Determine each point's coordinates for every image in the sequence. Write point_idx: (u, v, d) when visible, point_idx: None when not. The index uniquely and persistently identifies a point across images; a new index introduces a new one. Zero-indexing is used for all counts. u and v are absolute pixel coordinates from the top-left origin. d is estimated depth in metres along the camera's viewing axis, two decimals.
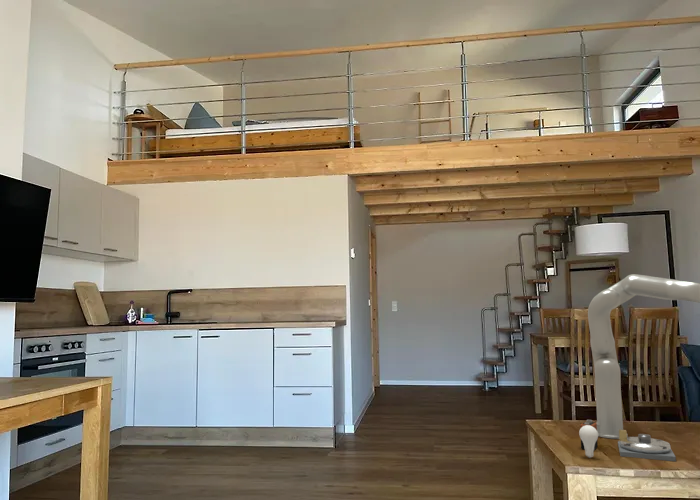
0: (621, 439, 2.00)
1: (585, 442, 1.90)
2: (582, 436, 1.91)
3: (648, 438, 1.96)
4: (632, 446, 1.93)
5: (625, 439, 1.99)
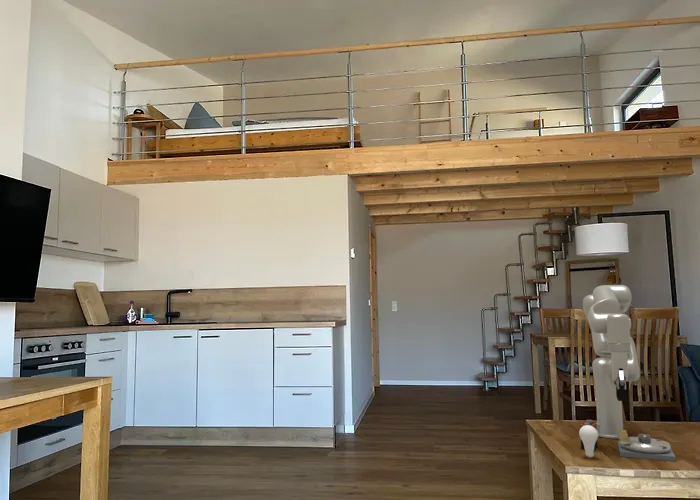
0: (621, 439, 2.00)
1: (585, 442, 1.90)
2: (582, 436, 1.91)
3: (648, 438, 1.96)
4: (632, 446, 1.93)
5: (625, 439, 1.99)
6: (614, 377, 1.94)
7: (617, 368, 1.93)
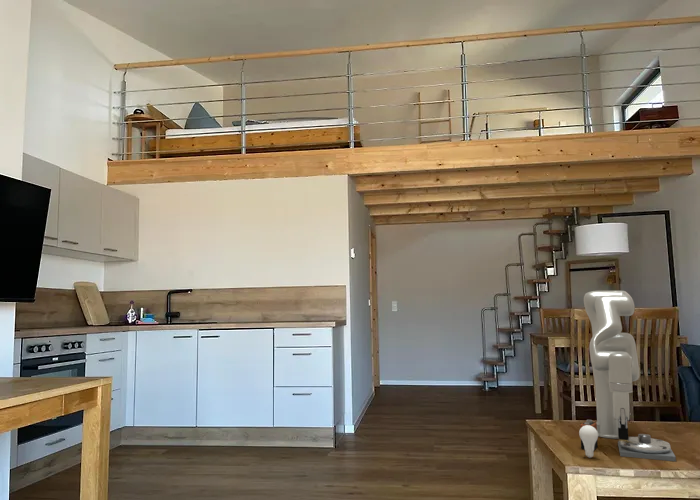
0: None
1: (585, 442, 1.90)
2: (582, 436, 1.91)
3: (648, 438, 1.96)
4: (632, 446, 1.94)
5: None
6: (616, 417, 1.95)
7: (619, 408, 1.95)
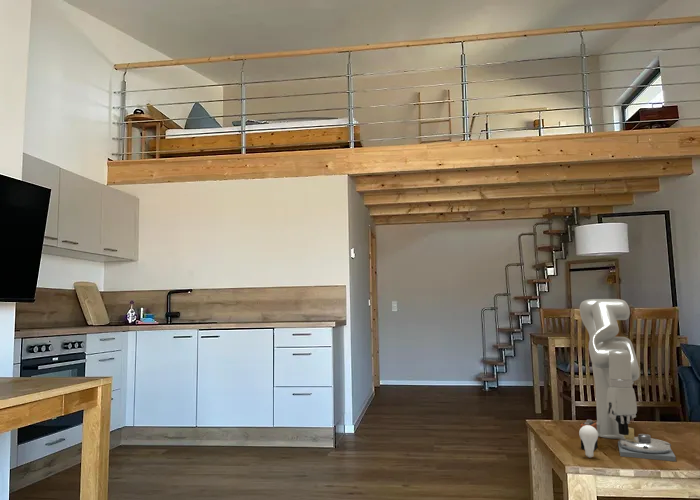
0: (625, 436, 2.05)
1: (585, 442, 1.90)
2: (582, 436, 1.91)
3: (643, 438, 1.96)
4: (620, 442, 2.00)
5: (628, 436, 2.03)
6: (606, 410, 2.05)
7: (608, 402, 2.04)
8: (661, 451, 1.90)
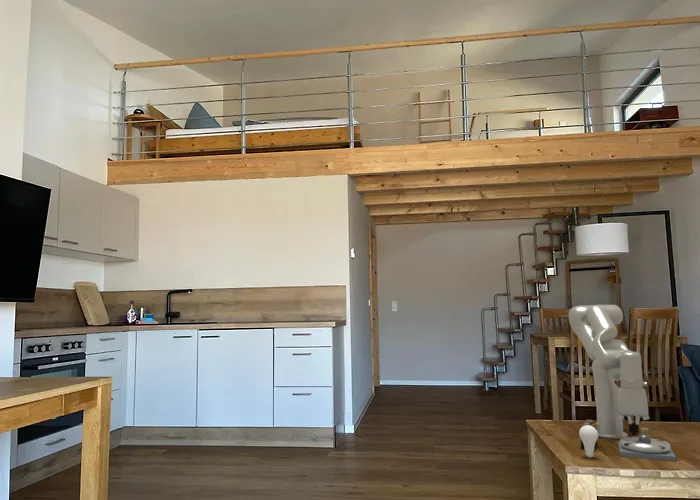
0: None
1: (585, 442, 1.90)
2: (582, 436, 1.91)
3: (639, 437, 1.98)
4: None
5: None
6: None
7: (617, 401, 2.10)
8: (641, 450, 1.91)
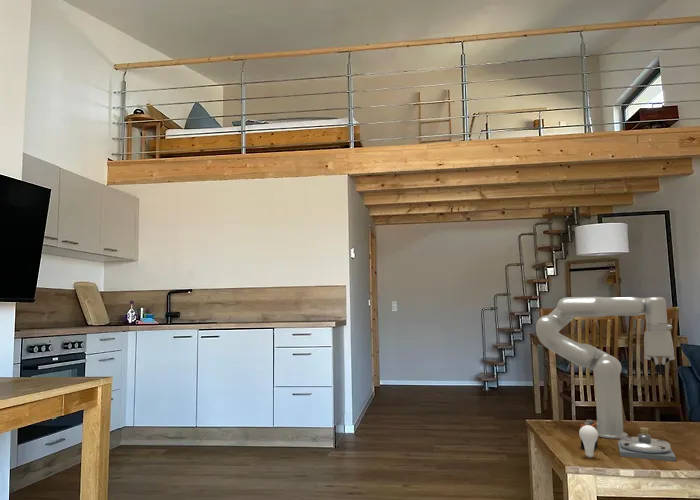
0: None
1: (585, 442, 1.90)
2: (582, 436, 1.91)
3: (639, 437, 1.98)
4: None
5: None
6: None
7: None
8: (641, 450, 1.91)
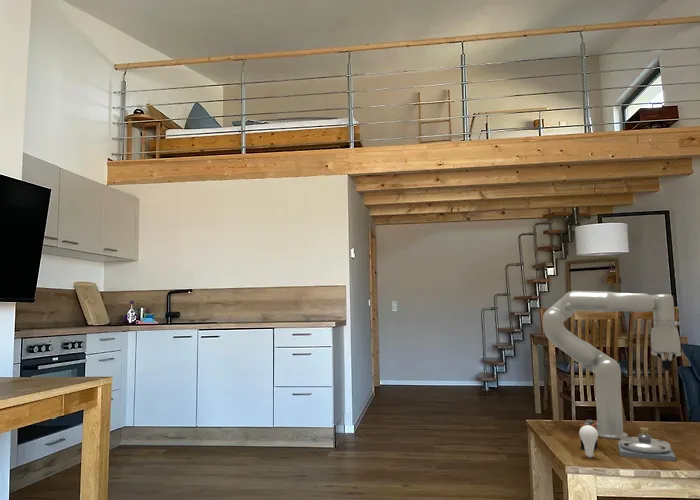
0: None
1: (585, 442, 1.90)
2: (582, 436, 1.91)
3: (639, 437, 1.98)
4: None
5: None
6: None
7: None
8: (641, 450, 1.91)
